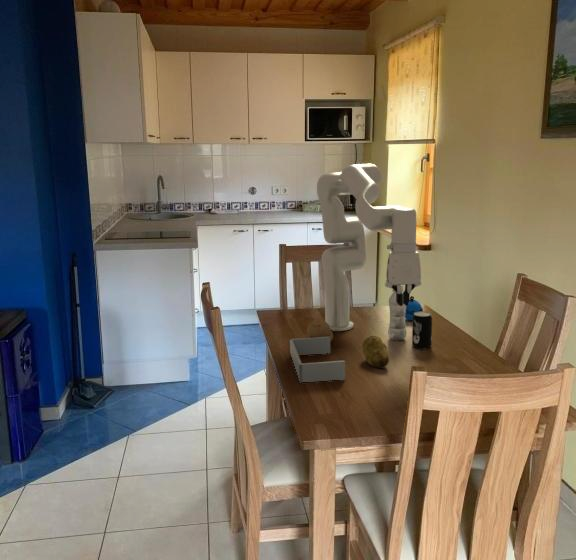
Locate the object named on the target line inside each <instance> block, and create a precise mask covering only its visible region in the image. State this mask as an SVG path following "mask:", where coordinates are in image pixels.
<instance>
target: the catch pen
mask: <svg viewBox="0 0 576 560" xmlns="http://www.w3.org/2000/svg"><path fill="white" fill-rule="evenodd" d="M322 353H323V354H322ZM327 353H328V354H327ZM330 353H331V341H330V336H329V337H315V338H308V337H305V338H290V339H289V355H290V354H291V357H292V360H293V362H292V364H293V363H294V365H293V367H294V366H295V368H294V370H295V369H296V371H295V373H296V372H297V374H296V376H297V375H298V377H297V379H298V378H299V379H298V382H299V381H300V382H312V381H328V380H329V381H328V382H333V381H332V380H340V381H345V380H346V361H345V360H332V361H321V362H307V363H302V360H301V358H300V356H299V355H298V354H322V355H331V354H330ZM291 357H290V358H291ZM292 360H291V361H292ZM330 380H331V381H330ZM300 382H299V383H300Z"/></svg>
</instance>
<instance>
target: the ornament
mask: <svg viewBox="0 0 576 560" xmlns="http://www.w3.org/2000/svg"><path fill="white" fill-rule="evenodd" d="M419 311H424V309H423V306H422V304H421V303H420V302H419V301H417V300H415V296H412V295H411V296H410V301H409V302H408V306H406V312H405V320H407V321H410V322H411V321H412V322H413V316H414V313H415V312H419Z"/></svg>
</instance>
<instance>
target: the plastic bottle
mask: <svg viewBox="0 0 576 560" xmlns="http://www.w3.org/2000/svg"><path fill="white" fill-rule="evenodd" d="M391 291H392V293H391V295H390V296H389V298H388V307H389V325H388V330H387V335H388V338H389V339H390V340H393V341H403V340H405V339H406V336H407V326H406V318H405V312H406V305H405V304H403V305H402V306H400V305H398V303H397V302H396V292H395V291H394V290H393V289H392V290H391ZM401 292H402V294H403V292H404V285H401Z"/></svg>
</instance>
